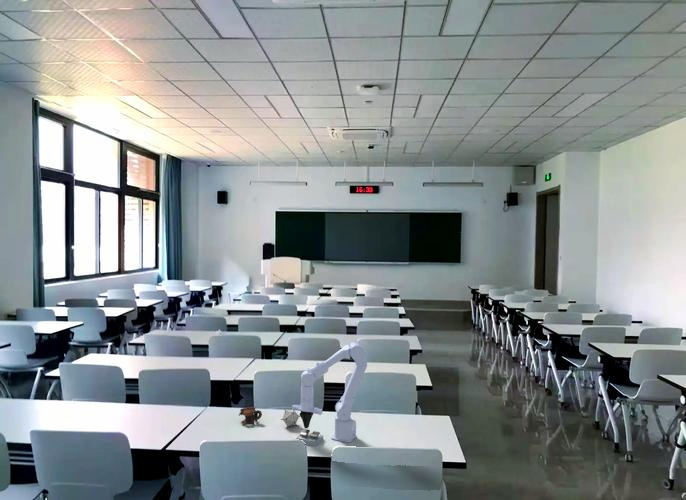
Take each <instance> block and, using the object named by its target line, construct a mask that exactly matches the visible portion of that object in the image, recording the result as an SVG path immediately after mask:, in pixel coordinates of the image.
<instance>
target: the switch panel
mask: <svg viewBox="0 0 686 500" xmlns="http://www.w3.org/2000/svg"><path fill="white" fill-rule="evenodd" d="M312 433H313V432H309V433H308V435H307V436H306V437H303V436H300V434H299V435H298V436H297V437H296V438H295V440H296V439H299V440H303V441H304V442H305V443H306V444H305V445H308V446H312V447H316V446H317V447H318V446H319V445H320V443H321V442H323V441H324V435H322V434H319V436H318V437H317V438H311V437H310V435H311V434H312Z"/></svg>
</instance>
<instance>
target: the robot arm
mask: <svg viewBox="0 0 686 500" xmlns="http://www.w3.org/2000/svg"><path fill="white" fill-rule="evenodd" d="M351 358H352V359H353V361H354V363H355V366H354V369H352V373H351V374H350V375H351V376H350V377H349V380H348V382H347V385H346V387H345V390H344V393H343V395H341V397H340V399H339V400H338V401H337V402H336V404H335V405H334V409H335V411H336V414H335V416H334V435H332V437H331V440H335V441H340V442H344V443H350V444H351V443H352V442H353V441H354V439H355V438H357V421H356V420H355V419H353V418H351V415H352V412H351V411H352V409H353V403H354V399H355V396H356V394H357V392H358V390H359V387H360V384H361V382H362V379H363V378H364V374H365V372H366V369H367V367H368V362H367V361H368V360H367V356H366V352H365V350H364V349H363V347H362V346H361V344H360V343H359V342H358V341H355V340H353V341H350V342H349V343H348V344H345V345H344V346H343V347H342V348H341V349H339V350H337V351H336V352H335V353H334V354H332V355H331V356H330V357H329V358H328V359H326V360H321V361H316V362H315V364H314V365H313V366H312V367H310V368H307V370H304V371H303V372H302V373H301V374H300V380H301V385H300V404H293V405H291V410H295V411H298V412H299V415H300V418H301V420H302V424H303V427H304V428H303V429H308V428H309V427H310V424H311V420H312V418H313V415H315V414H317V415H318V416H321V415H322V414H323V409H322V408H320V407H319V408H318V407H316V406H314V383H315V381H316V380H318V379H320V378H321V377H322V376H324V375H325V374H327V373H328V371H329V368H331V367H332V366H335V364H337V363H338V362H340V361H342V360H343V359H346V360H347V359H348V360H351Z"/></svg>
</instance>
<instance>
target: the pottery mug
mask: <svg viewBox="0 0 686 500" xmlns="http://www.w3.org/2000/svg"><path fill="white" fill-rule="evenodd" d="M238 416H239V417H240V416H244V418H245V419H243V420H241V423H242V426H249V425H250V426H251V425H255V422H258V420H260V419H261V417H262V416H263V412H262V411H261V410H256V407H254V406H248V407H244V408H241V409H240V411H239V414H238Z"/></svg>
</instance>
